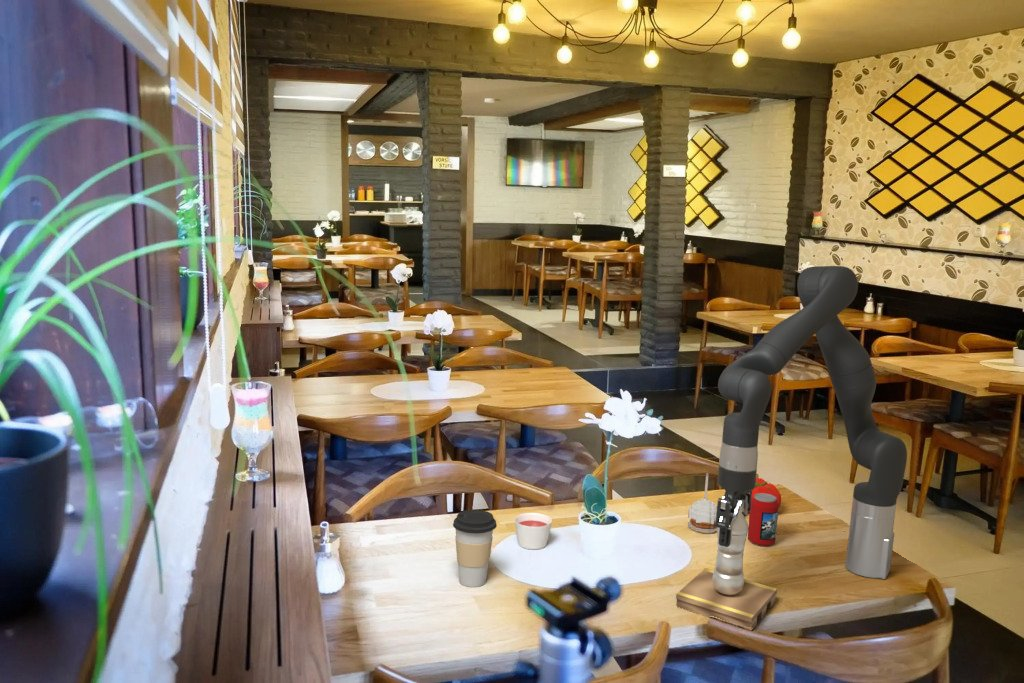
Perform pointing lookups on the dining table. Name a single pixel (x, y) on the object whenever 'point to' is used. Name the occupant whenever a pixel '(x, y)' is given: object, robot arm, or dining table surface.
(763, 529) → the beverage can
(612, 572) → the dining table surface
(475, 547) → the coffee cup
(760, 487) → the tomato
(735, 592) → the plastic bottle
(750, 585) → the dock
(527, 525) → the candle
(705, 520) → the decorative ornament
